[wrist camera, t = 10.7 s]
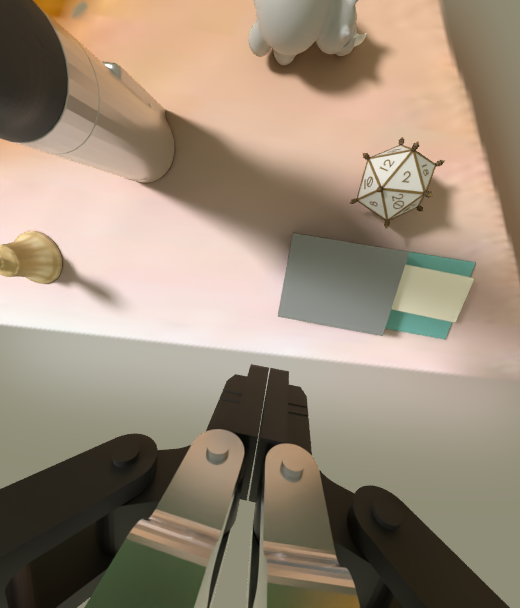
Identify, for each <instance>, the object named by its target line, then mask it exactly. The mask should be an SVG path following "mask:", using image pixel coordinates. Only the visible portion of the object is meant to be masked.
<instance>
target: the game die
mask: <svg viewBox="0 0 520 608" xmlns="http://www.w3.org/2000/svg"><path fill="white" fill-rule="evenodd" d="M403 143H404V139H403V137H402V138H401V139H400V140H399V146H396V147H394V148H391V149H389V150H387V151H384V152H382V153H379V154H377V155H375V156H372V157H369V155H368V153H363V158H365V159H367V163H366V167H365V170H364V174H363V178H362V181H361V185H360V188H359V192H358V196H357V198H356V199H353V200H351V202H350V203H351V204H354V203H356V202H357V201H358V202H359V203H361V204H362V205H364V206H365V207H367V208H368V209H370V210H371V211H373V212H374V213H376V214H377V215H379V216H380V217H382V218H383V219H385V220H386V222H385V224H384V225H385V227H386V228H387V227H388V226H389V220H391V219H393V218H395V217H397V216H400V215H402V214H404V213H406V212H408V211H410V210H413V209H415V208H417V210H418V211H423V207H421V206H419V205H420V203H421V201H422V199H423V198H424V196H426V197H428V198H429V197H431V196H433V195H432V193H431V192H429V191H428V192H427V189H428V186H429V184H430V181H431V178H432V175H433V173H434V170H435V167H436V166H440V165H442V164H443V163H444V161H443V160H440V161H437V163H433V162H432V161H431V160H429V159H428V158H426V157H425V156H423V155H422V154H420V153H419V152H417V151H416V149H418V147H419V143H418V142H416V143H414V144H413V146H412V148H409V147H407V146H404V145H403Z"/></svg>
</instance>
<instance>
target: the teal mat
mask: <svg viewBox="0 0 520 608" xmlns="http://www.w3.org/2000/svg"><path fill="white" fill-rule="evenodd" d="M400 251H401V250H400ZM406 252H407V251H406ZM406 264H407V265H412V266H417V267H422V268H427V269H432V270H437V271H442V272H447V273H452V274H457V275H463V276H467V277H470V276H471V273H472V271H473V268H474V266H475V263H474V262H468V261H462V260H456V259H450V258H444V257H438V256H431V255H425V254H419V253H413V252H409V255H408V258H407V261H406ZM451 324H452V322H450V321H445V320H440V319H435V318H431V317H426V316H421V315H416V314H411V313H407V312H402V311H397V310H392V309H391V311H390V314H389V318H388V321H387V324H386V327H385V328H386V329H392V330H397V331H402V332H408V333H413V334H419V335H424V336H430V337H435V338H441V339H446V336H447V334H448V331H449V329H450V326H451Z"/></svg>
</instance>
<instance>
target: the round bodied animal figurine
mask: <svg viewBox="0 0 520 608" xmlns="http://www.w3.org/2000/svg"><path fill="white" fill-rule="evenodd" d="M357 1H358V0H254V5H255V8H256V13H257V21H256V22H255V24H254V25H253V26H252V28H251V30H250V33H249V39H248V41H249V46H250V49H251V50H252V52H253V53H254V54H255V55H256V56H259V57H262V56H265V55H266V54H267V53H268V52H269V50H270V48H271V47H272V48H273V52H274V56H275V59H276V61H277V62H278V63H279V64H280V65H288V64H290V63H291V62H292V61H293V59H294V58H295V56H296V54H299V53H302V52H304V51H305V50H307V49H308V48H309V47H310V46H311V45H312V44H313V43H314V42H315V41H316V43H317V45H318V47H319V48H320V49H321V50H322V51H323V52H324V53H327V54H336V55H338V56H344V55H347V54H350V53H351V52H352V49H353V48H354V47H355V46H357V45H359V44H361V43H362V42H363V41H364V39H365V37H366V33H365V34H363V35H360V34H358V32H357V28H356V26H355V24H356V20H357V13H356V8H355V4H356V2H357Z"/></svg>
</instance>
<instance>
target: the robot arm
mask: <svg viewBox="0 0 520 608" xmlns="http://www.w3.org/2000/svg"><path fill="white" fill-rule="evenodd" d="M0 138H1V139H4V140H8V141H10V142H13V143H17V144H20V145H23V146H26V147H29V148H32V149H36V150H39V151H42V152H45V153H48V154H51V155H55V156H58V157H61V158H64V159H67V160H70V161H74V162H77V163H80V164H83V165H86V166H89V167H93V168H96V169H99V170H102V171H105V172H108V173H112V174H115V175H118V176H121V177H124V178H126V179H129V180H133V181H138V182H142V183H149V182H153V181H156V180H158V179H160V178H161V177H162V176H163V175H165V174H166V172H167V171H168V170H169V168H170V166H171V164H172V161H173V157H174V150H175V144H174V137H173V134H172V131H171V128H170V127H169V125H168V123H167V121H166V118H165V109H164V108H163V107H162V106H161V105H160V104H159V103H158V102H157V101H156V100H155V99H154V98H153V97H152V96H151V95H150V94H149V93H148V92H147V91H146V90H145V89H143V88H142V87H141V86H140V85H139V84H138V83H137V82H136V81H135V80H134V79H133V78H132V77H131V76H130V75H129V74H128V73H127V72H126V71H125V70H124V69H123V68H122V67H121V66H119V65H118V64H115V63H110V62H102V61H100V60H99V59H98V58H97V57H96V56H95V55H93V54H92V53H91V52H90V51H89V50H88V49H87V48H86V47H84V46H83V45H82V44H81V43H80V42H79V41H78V40H77V39H75V38H74V37H73V36H72V35H71V34H70V33H68V32H67V31H66V30H65V29H64V28H63V27H62V26H61V25H59V24H58V23H57V22H56V21H55V20H54V19H53V18H52V17H50V16H49V15H48V14H47V13H46V12H45V11H44V10H43V9H41V8H40V7H39V6H38V5H37V4H36V3H35V2H34V1H32V0H0ZM268 371H269V368H268V367H262V366H258V365H252V364H251V366H250V369H249V373H248V376H247V377H246V376H241V375H234V376H233V377H231V378H230V379H229V380H228V381H227V382H226V385H225V387H224V389H223V392H222V394H221V397H220V400H219V401H218V404H217V406H216V408H215V411H214V413H213V415H212V418H211V420H210V423H209V425H208V427H207V430H206V432H204V433H202V434H200V435H199V436H198V437H197V438H196V439H195V440H194V442H193V443H192V445H190V446H187V447H184V448H179V449H169V450H157V446H156V444H155V442H154V441H153V440H152V439H151V438H150V437H148V436H146V435H142V434H127V435H124V436H120V437H117V438H115V439H113V440H110V441H108V442H106V443H103V444H101V445H99V446H97V447H94V448H92V449H90V450H88V451H85V452H83V453H81V454H79V455H77V456H74V457H72V458H70V459H67V460H65V461H63V462H61V463H58V464H56V465H54V466H51V467H49V468H47V469H45V470H43V471H40V472H38V473H36V474H33V475H31V476H29V477H27V478H24V479H23V480H20V481H18V482H16V483H13V484H11V485H9V486H6V487H4V488H2V489H0V608H77V607H78V606H79V605H81V604H82V603H83V602H85V601H86V600H87V599H88V598H89V597H90V599H89V601H88V602H87V604H86V605H85V607H84V608H211V606H212V602H213V598H214V595H215V591H216V587H217V583H218V579H219V576H220V572H221V569H222V565H223V561H224V557H225V554H226V550H227V546H228V542H229V539H230V535H231V531H232V526H233V524H234V522H235V520H236V516H237V511H238V506H239V500H240V499H242V500H247V494H248V489H249V483H250V478H251V472H252V466H253V461H254V455H255V450H256V444H257V439H258V433H259V427H260V433H259V439H258V445H257V451H256V457H255V464H254V470H253V477H252V483H251V490H250V496H249V501H251V502H256V506H255V513H254V521H253V525H252V531H251V538H250V553H249V569H248V583H247V598H246V608H510V607H509V606H507V604H506V603H505V602H503V601H502V600H501V599H500V598H499V597H498V596H497V595H496V594H495V593H494V592H493V591H492V590H491V589H490V588H489V587H488V586H487V585H486V584H485V583H484V582H483V581H482V580H481V579H480V578H479V577H478V576H477V575H476V574H475V573H474V572H473V571H472V570H471V569H470V568H469V567H468V566H467V565H466V564H465V563H464V562H463V561H462V560H461V559H460V558H459V557H458V556H457V555H456V554H455V553H454V552H453V551H451V549H450V548H449V547H448V546H447V545H445V543H444V542H442V540H441V539H439V538H438V537H437V536H436V535H435V534H434V533H433V532H432V531H431V530H430V529H429V528H428V527H427V526H426V525H425V524H424V523H423V522H422V521H421V520H420V519H419V518H418V517H417V516H416V515H415V514H414V513H413V512H412V511H411V510H410V509H409V508H408V507H407V506H406V505H405V504H404V503H403V502H402V501H401V500H400V499H399V498H397V497H396V496H395V495H393V494H392V493H390V492H389V491H387V490H385V489H383V488H380V487H376V486H363V487H361V488H359V489H358V490H357V491H356V492H355V494H354V493H352V492H350V491H348V490H347V489H344V488H343V487H341V486H339V485H337V484H336V483H334V482H332V481H331V480H329V479H328V478H327V477H326V476H325V475H323V474H322V472H321V471H320V470H319V468H318V465H317V463H316V461H315V459H314V458H313V457H312V452H311V441H310V430H309V419H308V409H307V397H306V395H305V393H304V392H303V390H302V389H301V387H298V386H293V385H289V372H288V371H284V370H279V369H274V368H270V373H269V379H268V385H267V390H266V396H265V389H266V383H267V377H268ZM264 396H265V401H264ZM263 402H264V408H263ZM262 408H263V413H262ZM261 414H262V420H261ZM260 421H261V425H260Z"/></svg>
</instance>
